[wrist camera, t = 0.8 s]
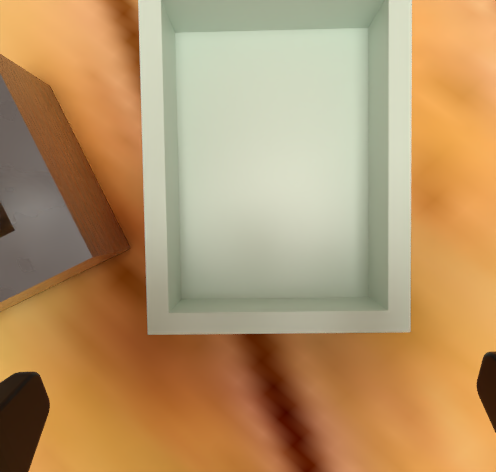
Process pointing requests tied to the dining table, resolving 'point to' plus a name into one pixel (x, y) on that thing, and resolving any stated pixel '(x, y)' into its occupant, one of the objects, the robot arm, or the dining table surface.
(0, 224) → the beige capped cylinder
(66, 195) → the block
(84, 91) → the dining table surface
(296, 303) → the tray
